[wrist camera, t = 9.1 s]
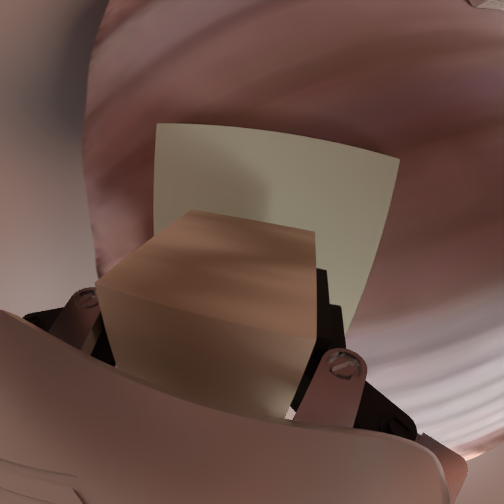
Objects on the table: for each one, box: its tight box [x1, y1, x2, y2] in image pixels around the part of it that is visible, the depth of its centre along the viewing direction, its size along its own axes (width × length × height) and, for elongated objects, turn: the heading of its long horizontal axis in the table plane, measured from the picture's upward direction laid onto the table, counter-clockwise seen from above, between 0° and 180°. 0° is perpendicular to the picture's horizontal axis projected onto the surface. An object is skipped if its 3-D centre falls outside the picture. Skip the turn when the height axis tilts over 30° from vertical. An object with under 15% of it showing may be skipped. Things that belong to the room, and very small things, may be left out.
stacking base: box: [153, 123, 400, 336], centre depth 15 cm, size 12×12×2 cm
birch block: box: [95, 210, 317, 419], centre depth 9 cm, size 5×5×6 cm
